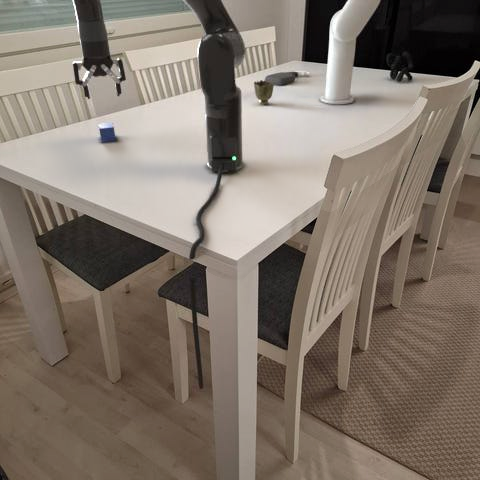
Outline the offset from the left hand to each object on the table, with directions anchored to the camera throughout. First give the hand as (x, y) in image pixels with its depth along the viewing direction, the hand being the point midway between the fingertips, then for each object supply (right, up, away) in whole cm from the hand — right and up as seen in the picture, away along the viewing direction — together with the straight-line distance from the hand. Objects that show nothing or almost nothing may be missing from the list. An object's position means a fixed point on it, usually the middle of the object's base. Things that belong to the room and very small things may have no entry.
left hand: (103, 97), depth 133 cm
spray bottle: (+63, +31, +72) cm, 100 cm away
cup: (+50, +9, +38) cm, 63 cm away
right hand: (+46, +43, +24) cm, 68 cm away
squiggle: (+113, +29, +67) cm, 135 cm away
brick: (0, -11, +6) cm, 13 cm away
